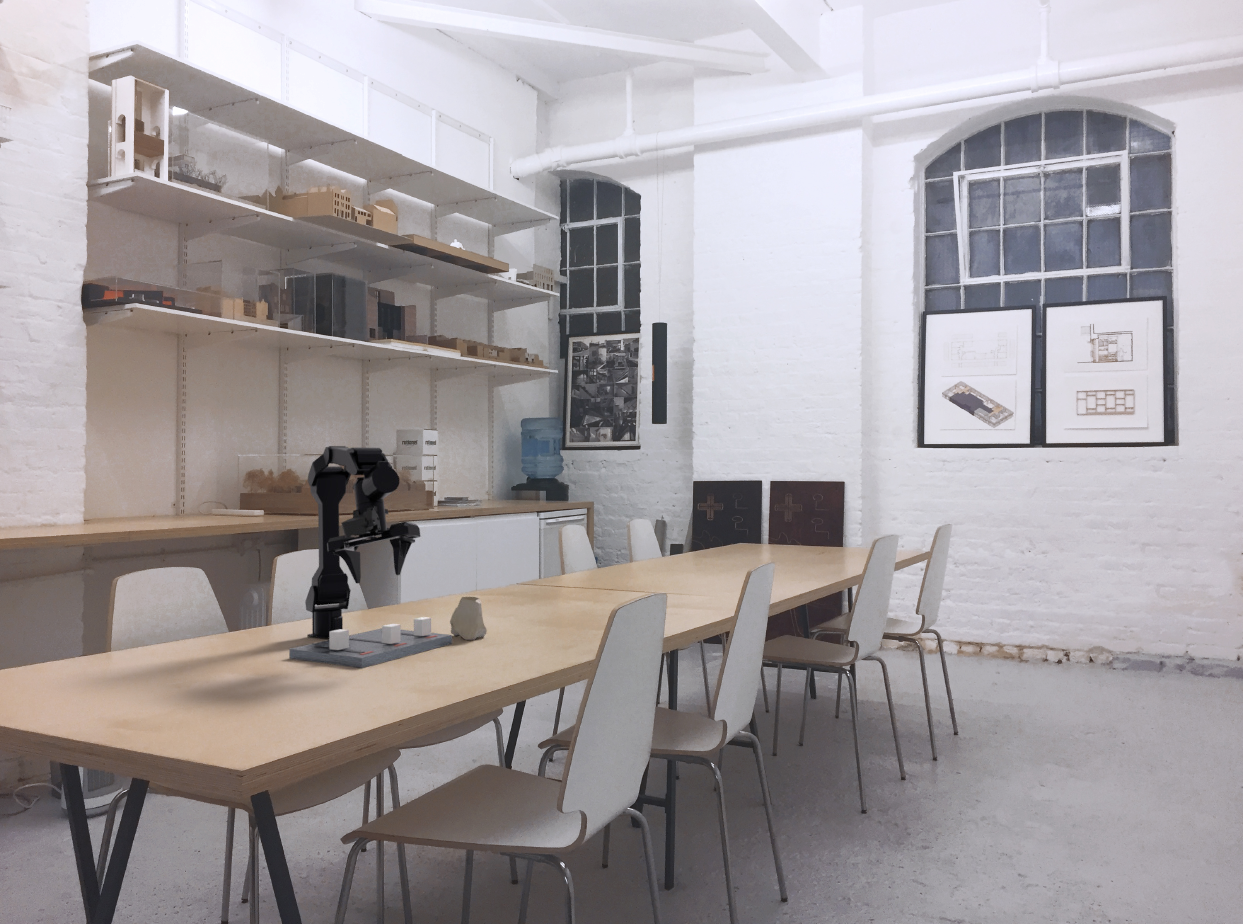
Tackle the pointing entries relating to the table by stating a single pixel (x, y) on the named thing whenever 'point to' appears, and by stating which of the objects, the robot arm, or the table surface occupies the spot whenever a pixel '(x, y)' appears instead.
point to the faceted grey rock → (468, 619)
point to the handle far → (422, 626)
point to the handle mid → (391, 633)
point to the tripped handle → (338, 639)
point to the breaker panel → (369, 649)
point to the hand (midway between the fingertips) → (377, 579)
